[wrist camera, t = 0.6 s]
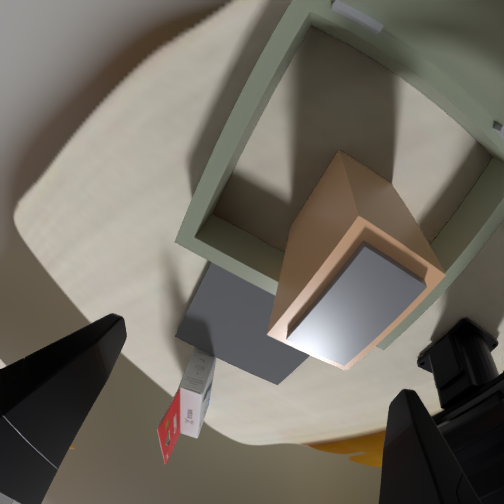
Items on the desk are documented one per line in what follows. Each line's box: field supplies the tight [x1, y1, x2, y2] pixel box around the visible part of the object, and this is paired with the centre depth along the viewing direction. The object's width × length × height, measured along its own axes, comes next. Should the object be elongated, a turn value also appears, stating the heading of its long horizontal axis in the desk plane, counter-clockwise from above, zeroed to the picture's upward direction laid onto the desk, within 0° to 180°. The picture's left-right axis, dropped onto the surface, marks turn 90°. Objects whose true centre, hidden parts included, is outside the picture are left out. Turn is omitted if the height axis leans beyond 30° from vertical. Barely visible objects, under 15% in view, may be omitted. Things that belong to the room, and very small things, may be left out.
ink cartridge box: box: [157, 347, 216, 464], centre depth 28 cm, size 2×11×10 cm, turn 170°
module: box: [267, 150, 446, 371], centre depth 15 cm, size 4×6×10 cm, turn 154°
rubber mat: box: [175, 262, 310, 385], centre depth 25 cm, size 11×11×1 cm
